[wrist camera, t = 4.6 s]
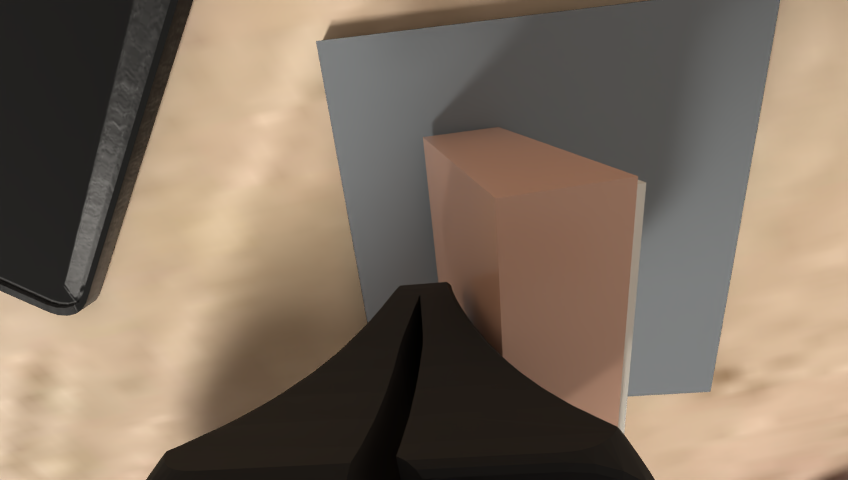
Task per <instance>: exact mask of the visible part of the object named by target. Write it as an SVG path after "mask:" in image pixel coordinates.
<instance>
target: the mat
mask: <svg viewBox="0 0 848 480" xmlns="http://www.w3.org/2000/svg"><path fill="white" fill-rule="evenodd" d="M779 4H780V0H650V1H642V2H634V3H626V4H617V5H609V6H601V7H593V8H585V9H576V10H568V11H560V12H552V13H544V14H535V15H527V16H519V17H511V18H503V19H494V20H486V21H478V22H470V23H462V24H453V25H445V26H437V27H429V28H421V29H412V30H404V31H396V32H388V33H379V34H371V35H363V36H355V37H347V38H338V39H330V40H322V41H316V44H317V49H318V55H319V60H320V66H321V71H322V77H323V82H324V88H325V93H326V98H327V104H328V109H329V115H330V120H331V126H332V131H333V137H334V142H335V148H336V153H337V159H338V164H339V170H340V175H341V180H342V186H343V191H344V197H345V202H346V208H347V213H348V219H349V224H350V230H351V235H352V241H353V246H354V252H355V257H356V262H357V268H358V273H359V279H360V284H361V290H362V295H363V301H364V306H365V312H366V317H367V323H368V322H369V321H370V320H371V319H372V318H373V317H374V315H375V314H376V313H377V312H378V311H379V310H380V308H381V307H382V306H383V305H384V304H385V302H386V301H387V300H388V299H389V297H390V296H391V295H392V294H393V293H394V291H395V290H396V289H397V288H398V287H399V286H401V285H413V284H426V283H438V275H437V266H436V256H435V247H434V237H433V228H432V219H431V209H430V200H429V190H428V181H427V172H426V162H425V153H424V143H423V137H427V136H435V135H442V134H450V133H457V132H464V131H472V130H479V129H487V128H494V127H500V128H503V129H506V130H509V131H512V132H514V133H517V134H520V135H523V136H526V137H529V138H531V139H534V140H537V141H540V142H543V143H546V144H548V145H551V146H554V147H557V148H560V149H562V150H565V151H568V152H571V153H574V154H577V155H579V156H582V157H585V158H588V159H591V160H594V161H596V162H599V163H602V164H605V165H608V166H611V167H613V168H616V169H619V170H622V171H625V172H627V173H630V174H633V175H636V176H638V180H640V181H643V182H646V192H645V203H644V215H643V226H642V237H641V249H640V260H639V271H638V283H637V294H636V305H635V317H634V328H633V340H632V351H631V362H630V374H629V385H628V396H644V395H661V394H678V393H696V392H710V391H711V385H712V380H713V374H714V368H715V363H716V357H717V352H718V346H719V340H720V335H721V329H722V323H723V318H724V312H725V307H726V301H727V295H728V290H729V284H730V279H731V273H732V267H733V262H734V256H735V251H736V245H737V239H738V234H739V228H740V223H741V217H742V211H743V206H744V200H745V194H746V189H747V183H748V178H749V172H750V166H751V161H752V155H753V150H754V144H755V138H756V133H757V127H758V122H759V116H760V110H761V105H762V99H763V93H764V88H765V82H766V77H767V71H768V65H769V60H770V54H771V49H772V43H773V37H774V32H775V26H776V21H777V15H778V9H779Z"/></svg>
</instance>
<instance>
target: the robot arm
mask: <svg viewBox="0 0 848 480" xmlns="http://www.w3.org/2000/svg"><path fill="white" fill-rule="evenodd" d="M146 480H655V479H654V478H653V476H652V474H651V473H650V471H649V470H648V468H647V467H646V465H645V464H644V462H643V461H642V459H641V458H640V456H639V455H638V453H637V452H636V451H635V449H634V448H633V446H632V445H631V444H630V442H629V441H628V439H627V438H626V437H625V435H624V434H623V432H622V431H621V430H620V429H619V428H618V427H617V426H615V425H613V424H611V423H609V422H606V421H604V420H602V419H600V418H598V417H596V416H594V415H592V414H590V413H588V412H585V411H583V410H581V409H579V408H577V407H575V406H573V405H571V404H569V403H567V402H566V401H564V400H562V399H561V398H559V397H557V396H555V395H554V394H552V393H550V392H549V391H547V390H545V389H544V388H542V387H541V386H539V385H538V384H536V383H535V382H534V381H532V380H531V379H529V378H528V377H527V376H525V375H524V374H522V373H521V372H520V371H518V370H517V369H516V368H515V367H514V366H513V365H511V364H510V363H509V362H508V361H507V360H506V359H505V358H503V357H502V356H501V355H500V354H499V353H498V352H497V351H496V350H495V349H494V348H493V347H492V346H491V345H490V344H489V343H488V342H487V340H486V339H485V338H484V337H483V336H482V335H481V333H480V332H479V331H478V330H477V329H476V327H475V326H474V325H473V324H472V322H471V321H470V319H469V318H468V317H467V315H466V314H465V312H464V311H463V309H462V308H461V306H460V304H459V303H458V301H457V299H456V297H455V295H454V293H453V290H452V286H451V285H450V284H449V283H448V282H438V283H426V284H413V285H401V286H399V287H398V288H397V289H396V290H395V291H394V293H393V294H392V295H391V296H390V297H389V299H388V300H387V301H386V302H385V304H384V305H383V306H382V307H381V308H380V310H379V311H378V312H377V313H376V314H375V315H374V317H373V318H372V319H371V320H370V321H369V322H368V323H367V325H366V326H365V327H364V328H363V329H362V330H361V331H360V332H359V333H358V334H357V335H356V336H355V337H354V338H353V339H352V340H351V341H350V342H349V343H348V344H347V345H346V346H345V347H344V348H342V349H341V350H340V351H339V352H338V353H337V354H336V355H334V356H333V357H332V358H331V359H330V360H328V361H327V362H326V363H325V364H323V365H322V366H321V367H320V368H318V369H317V370H316V371H314V372H313V373H312V374H310V375H309V376H307V377H306V378H304V379H303V380H301V381H300V382H298V383H297V384H295V385H294V386H292V387H291V388H289V389H288V390H286V391H285V392H283V393H282V394H280V395H279V396H277V397H276V398H274V399H272V400H270V401H269V402H267V403H265V404H264V405H262V406H260V407H258V408H257V409H255V410H253V411H251V412H249V413H247V414H246V415H244V416H242V417H240V418H238V419H236V420H234V421H232V422H230V423H228V424H226V425H224V426H222V427H220V428H218V429H216V430H214V431H211V432H209V433H207V434H205V435H203V436H200V437H198V438H196V439H194V440H192V441H189V442H187V443H185V444H183V445H181V446H178V447H176V448H174V449H171V450H169V451H167V452H166V453H165V454H164V455H163V457H162V458H161V459H160V461H159V462H158V464H157V465H156V466H155V468H154V469H153V471H152V472H151V473H150V475H149V476H148V478H147V479H146Z"/></svg>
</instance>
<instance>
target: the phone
mask: <svg viewBox="0 0 848 480" xmlns="http://www.w3.org/2000/svg"><path fill="white" fill-rule="evenodd" d="M192 2H193V0H0V291H2V292H4V293H7V294H9V295H11V296H13V297H16V298H18V299H20V300H23V301H25V302H27V303H29V304H32V305H34V306H36V307H38V308H41V309H43V310H45V311H48V312H50V313H54V314H57V315H66V316H68V315H72V314H76V313H78V312H79V311H81V310H82V309H83V308H85V307H86V306H88V305H89V304H91V303H92V302H94V301H95V300H96V299H97V297H98V296H99V294H100V291H101V288H102V285H103V282H104V279H105V276H106V272H107V269H108V266H109V263H110V260H111V257H112V254H113V250H114V247H115V244H116V241H117V238H118V235H119V232H120V228H121V225H122V222H123V219H124V216H125V213H126V210H127V206H128V203H129V200H130V197H131V194H132V191H133V188H134V184H135V181H136V178H137V175H138V172H139V169H140V165H141V162H142V159H143V156H144V153H145V150H146V147H147V143H148V140H149V137H150V134H151V131H152V128H153V125H154V121H155V118H156V115H157V112H158V109H159V106H160V103H161V99H162V96H163V93H164V90H165V87H166V84H167V81H168V77H169V74H170V71H171V68H172V65H173V62H174V59H175V55H176V52H177V49H178V46H179V43H180V40H181V37H182V33H183V30H184V27H185V24H186V21H187V18H188V15H189V11H190V8H191V5H192Z"/></svg>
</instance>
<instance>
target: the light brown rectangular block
mask: <svg viewBox="0 0 848 480" xmlns="http://www.w3.org/2000/svg"><path fill="white" fill-rule="evenodd" d="M423 143H424V153H425V162H426V172H427V181H428V190H429V200H430V209H431V219H432V228H433V237H434V247H435V256H436V266H437V275H438V282H448V283H449V284H450V285H451V286H452V290H453V293H454V295H455V297H456V299H457V301H458V303H459V304H460V306H461V308H462V309H463V311H464V312H465V314H466V315H467V317H468V318H469V319H470V321H471V322H472V324H473V325H474V326H475V327H476V329H477V330H478V331H479V332H480V333H481V335H482V336H483V337H484V338H485V339H486V340H487V342H488V343H489V344H490V345H491V346H492V347H493V348H494V349H495V350H496V351H497V352H498V353H499V354H500V355H501V356H502V357H503V358H505V359H506V360H507V361H508V362H509V363H510V364H511V365H513V366H514V367H515V368H516V369H517V370H518V371H520V372H521V373H522V374H524V375H525V376H527V377H528V378H529V379H531V380H532V381H534V382H535V383H536V384H538V385H539V386H541V387H542V388H544V389H545V390H547V391H549V392H550V393H552V394H554V395H555V396H557V397H559V398H561V399H562V400H564V401H566V402H567V403H569V404H571V405H573V406H575V407H577V408H579V409H581V410H583V411H585V412H588V413H590V414H592V415H594V416H596V417H598V418H600V419H602V420H604V421H606V422H609V423H611V424H613V425H615V426H617V427H618V428H619V429H620V430H621V431H622V432H623V434H624V430H625V419H626V408H627V396H628V385H629V374H630V362H631V351H632V340H633V328H634V317H635V305H636V294H637V283H638V271H639V260H640V249H641V237H642V226H643V215H644V203H645V192H646V182H643V181H640V180H638V176H636V175H633V174H630V173H627V172H625V171H622V170H619V169H616V168H613V167H611V166H608V165H605V164H602V163H599V162H596V161H594V160H591V159H588V158H585V157H582V156H579V155H577V154H574V153H571V152H568V151H565V150H562V149H560V148H557V147H554V146H551V145H548V144H546V143H543V142H540V141H537V140H534V139H531V138H529V137H526V136H523V135H520V134H517V133H514V132H512V131H509V130H506V129H503V128H500V127H494V128H487V129H479V130H472V131H464V132H457V133H450V134H442V135H435V136H427V137H423Z"/></svg>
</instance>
